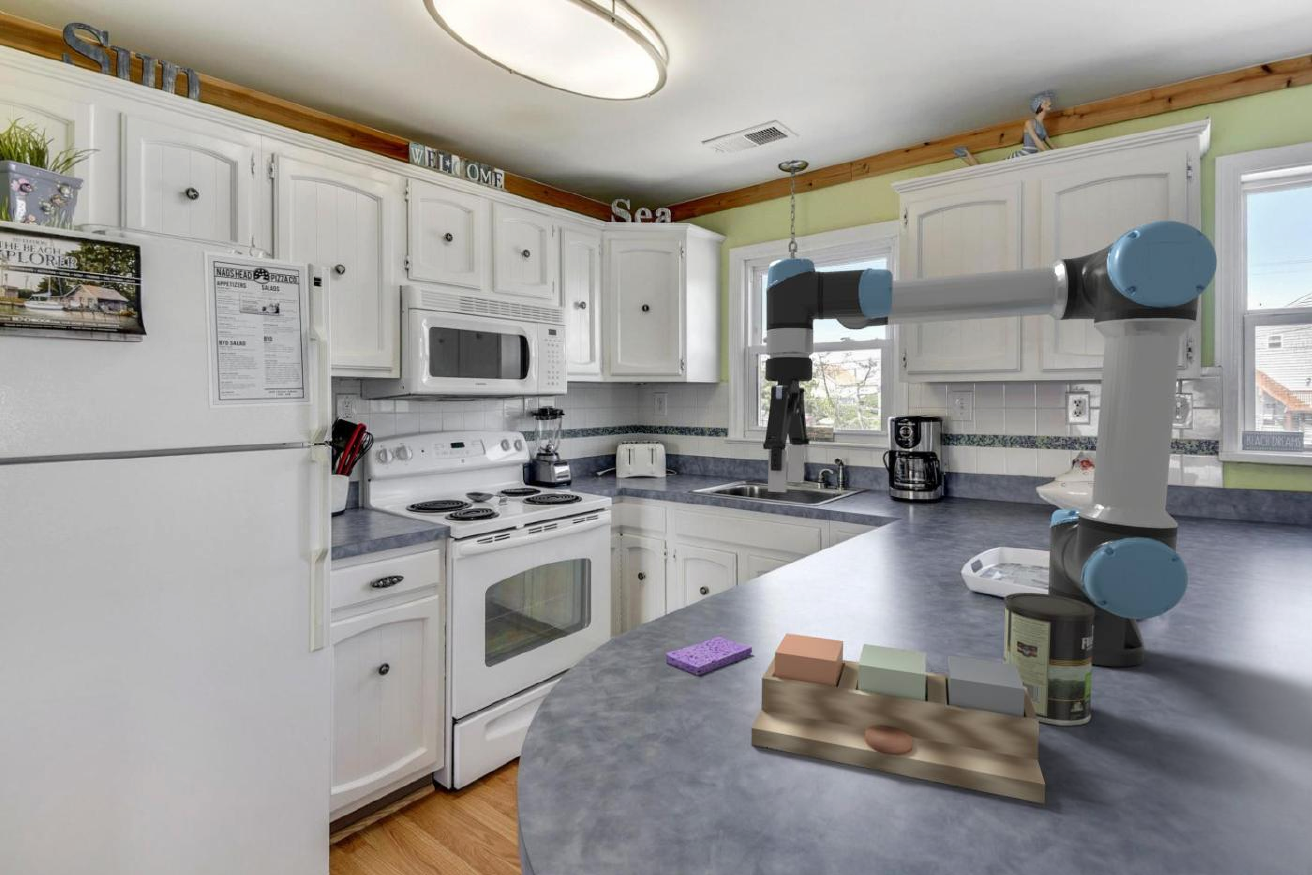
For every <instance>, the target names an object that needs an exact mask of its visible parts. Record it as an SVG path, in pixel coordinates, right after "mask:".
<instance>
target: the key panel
mask: <svg viewBox="0 0 1312 875" xmlns="http://www.w3.org/2000/svg"><path fill="white" fill-rule="evenodd" d="M858 670H859V661H854V660H853V661H852V660H844V659H843V672H842V675H841V679H840V682H839V685H838V687H834V686H828V685H822V684H816V683H810V682H804V681H797V680H791V679H785V678H779V677H775V656H774V657H773V659H772V661H771V662H770V664H769V666H768V667H767V669H766V671H765V672H764V674H763V676H762V677H761V703H760V704H761V710H760V711H759V713H758V715H757V717H756V719H755V721H754V723H753V724H752V726H751V743H750V744H751V745H752V746H758V747H762V746H763V747H762V748H766V747H768V749H771V748H772V750H776V749H777V751H781V750H782V751H783V752H786V753H787V752H788V753H792V754H797V755H800V756H801V755H802V756H806V757H811V758H815V759H816V758H817V759H822V760H825V761H831V762H835V763H836V762H837V763H840V764H841V763H842V764H847V765H852V766H856V767H862V768H866V769H870V770H875V771H881V772H885V773H891V774H896V775H900V776H903V777H904V776H905V777H910V778H915V779H920V780H924V781H929V782H934V783H935V782H936V783H939V784H940V783H941V784H945V785H950V786H954V787H959V788H964V789H969V790H975V791H978V792H979V791H980V792H984V793H989V794H994V795H998V796H1004V797H1008V798H1014V799H1018V800H1023V801H1029V802H1033V803H1038V804H1043V805H1045V802H1046V801H1045V800H1046V799H1045V798H1046V782H1045V779H1044V776H1043V773H1042V769H1041V767H1040V763H1039V761H1038V760H1039V759H1038V757H1039V736H1040V734H1039V732H1040V730H1039V729H1040V722H1038V719H1037V716H1036V714H1035V711H1034V708H1033V705H1032V702H1031V699H1030V697H1029V694H1028V691H1027V688H1026V687H1024V689H1025V691H1024V717H1019V716H1013V715H1007V714H1001V713H995V712H989V711H982V710H976V709H970V708H964V707H958V706H952V705H948V699H947V687H948V674H947V675H946V674H940V673H933V672H928V671H926V683H925V701H921V700H915V699H908V698H902V697H896V696H890V695H884V694H878V693H871V692H865V691H859V690H858Z"/></svg>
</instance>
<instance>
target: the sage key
mask: <svg viewBox="0 0 1312 875" xmlns="http://www.w3.org/2000/svg"><path fill="white" fill-rule="evenodd" d="M858 662H859V670H858V690H859V691H865V692H871V693H878V694H884V695H890V696H896V697H902V698H908V699H915V700H921V701H925V683H926V672H927V670H926V669H927V666H926V665H927V664H926V663H927V653H926V651H918V650H912V649H911V650H910V649H904V648H903V649H902V648H897V647H896V648H895V647H890V646H889V647H888V646H882V645H876V644H875V645H873V644H869V643H864V644H863V647H862V650H861V654H860V658H859V661H858Z"/></svg>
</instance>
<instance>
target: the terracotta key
mask: <svg viewBox="0 0 1312 875" xmlns="http://www.w3.org/2000/svg"><path fill="white" fill-rule="evenodd" d="M774 657H775V677H779V678H785V679H791V680H797V681H804V682H810V683H816V684H822V685H828V686H834V687H838V685H839V682H840V679H841V675H842V672H843V660H844V641H843V640H839V639H831V638H823V637H815V636H810V635H809V636H808V635H800V634H794V633H786V634H784V637H783V638H782V640H781V642H780V644H778V646H777V648H776V649H775V652H774Z"/></svg>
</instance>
